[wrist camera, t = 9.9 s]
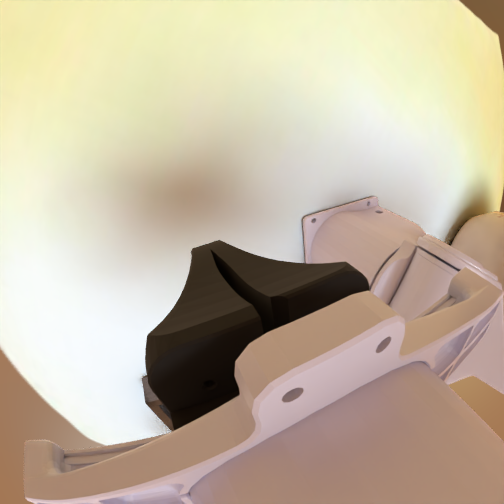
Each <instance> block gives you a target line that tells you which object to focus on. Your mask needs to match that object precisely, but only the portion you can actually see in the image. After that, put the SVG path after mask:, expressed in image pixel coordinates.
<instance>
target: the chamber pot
mask: <svg viewBox="0 0 504 504" xmlns="http://www.w3.org/2000/svg"><path fill="white" fill-rule="evenodd" d="M451 247H453V248H455V249H457V250H459V251H460V252H462V253H464V254H465V255H467V256H469V257H470V258H472V259H474V260H475V261H477V262H479V263H480V264H482V265H483V268H485V269H487V270H488V271H490V272H491V273H493V274H494V275H496V276H497V277H498V281H499V282H500V283H501V284H502V290H503V292H504V213H502V212H497V211H494V212H490V213H485V214H481V215H477V216H475V217H472V218H471V219H469V220H468V221H467V222H466V223H465V224H464V225H463V226H462V227H461V229H460V230H459V232H458V233H457V235H456V236H455V238H454V240H453V242H452V244H451ZM503 311H504V295H503Z"/></svg>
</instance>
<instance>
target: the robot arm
mask: <svg viewBox="0 0 504 504" xmlns="http://www.w3.org/2000/svg"><path fill="white" fill-rule="evenodd" d="M367 202H368V204H367ZM313 218H314V220H313V222H311V221H312V219H313ZM303 232H304V245H305V260H306V263H293V262H284V261H278V260H273V259H268V258H264V257H260V256H257V255H254V254H251V253H248V252H245V251H243V250H240V249H238V248H236V247H233V246H231V245H229V244H227V243H225V242H223V241H220V240H218V241H215V242H212V243H209V244H205V245H202V246H199V247H196V248H193V249H192V251H191V254H192V259H191V266H190V271H189V275H188V278H187V281H186V284H185V287H184V289H183V291H182V294H181V296H180V297H179V299H178V301H177V303H176V304H175V306H174V307H173V309H172V310H171V311H170V313H169V314H168V315H167V316H166V318H165V319H164V320H163V321H162V322H161V323H160V324H159V325H158V326H157V327H156V328H155V329H154V330H152V331H151V332H150V333H149V334H148V336H147V343H146V355H145V363H146V372H147V379H148V384H149V386H150V388H151V390H152V391H153V393H154V394H155V395H156V396H157V398H158V399H159V400H160V401H161V402H162V404H163V405H164V406H165V407H166V408H167V410H168V411H169V412H170V415H171V420H172V424H173V428H174V431H173V432H171V433H168V434H164V435H160V436H155V437H151V438H146V439H142V440H137V441H132V442H126V443H121V444H115V445H108V446H101V447H93V448H84V449H74V450H63V449H62V448H61V447H59V446H58V445H57V444H55V443H53V442H51V441H48V440H27V441H25V451H24V496H25V498H26V500H28V501H30V502H32V503H35V504H504V442H503V441H502V439H500V437H499V436H498V435H497V434H496V433H495V432H494V431H493V430H492V429H491V428H490V427H489V426H488V425H487V424H486V423H485V422H484V421H483V420H482V419H481V418H480V417H479V416H478V415H477V414H476V413H475V412H474V411H473V410H472V409H471V408H470V407H469V406H468V405H467V404H466V403H465V402H464V401H463V400H462V399H461V398H460V397H459V396H458V395H457V394H456V393H455V392H454V391H453V390H452V389H451V388H450V387H449V386H448V385H449V384H451V383H454V382H456V381H459V380H461V379H464V378H466V377H469V376H475V377H477V378H479V379H480V380H482V381H483V382H485V383H486V384H488V385H490V386H491V387H493V388H495V389H496V390H498V391H499V392H501V393H502V394H504V311H503V295H504V292H503V290H502V284H501V283H500V282H499V281H498V277H497V276H496V275H494V274H493V273H491V272H490V271H488V270H487V269H485V268H483V265H482V264H480V263H479V262H477V261H475V260H474V259H472V258H470V257H469V256H467V255H465V254H464V253H462V252H460V251H459V250H457V249H455V248H453V247H451V246H450V245H448V244H446V243H444V242H442V241H441V240H439V239H437V238H435V237H433V236H431V235H429V234H427V235H426V233H425V232H424V231H423V230H422V228H421V227H419V226H418V225H417V224H415V223H414V222H411V221H409V220H407V219H405V218H403V217H401V216H399V215H397V214H395V213H392V212H390V211H388V210H386V209H384V208H381V207H379V206H378V199H377V197H374V196H373V197H369V198H366V199H362V200H359V201H356V202H352V203H349V204H345V205H342V206H339V207H335V208H332V209H328V210H325V211H322V212H318V213H315V214H312V215H308V216H306V217H305V218H304V219H303Z"/></svg>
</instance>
